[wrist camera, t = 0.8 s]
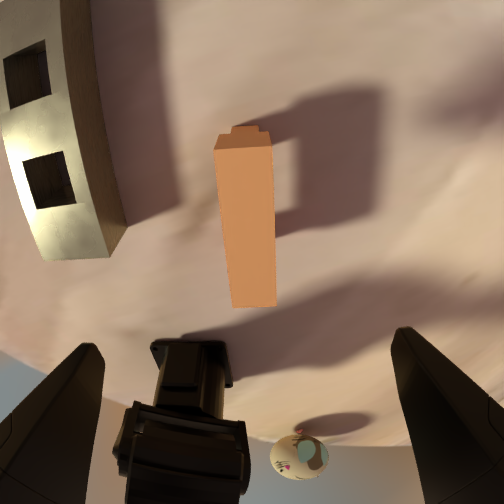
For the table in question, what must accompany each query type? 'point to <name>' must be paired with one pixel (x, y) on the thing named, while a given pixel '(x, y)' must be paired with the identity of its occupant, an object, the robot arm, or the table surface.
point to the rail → (58, 129)
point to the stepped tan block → (247, 214)
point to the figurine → (299, 456)
